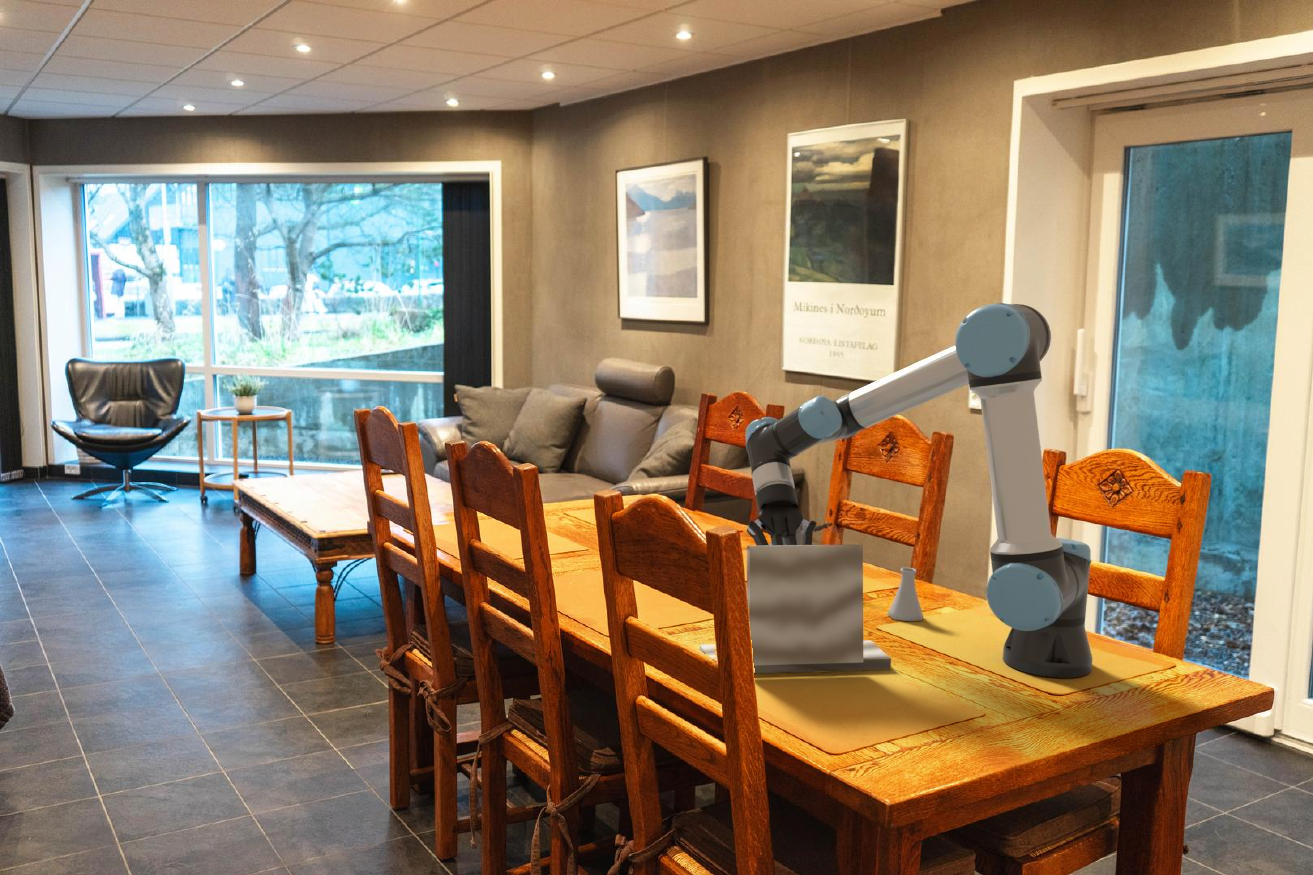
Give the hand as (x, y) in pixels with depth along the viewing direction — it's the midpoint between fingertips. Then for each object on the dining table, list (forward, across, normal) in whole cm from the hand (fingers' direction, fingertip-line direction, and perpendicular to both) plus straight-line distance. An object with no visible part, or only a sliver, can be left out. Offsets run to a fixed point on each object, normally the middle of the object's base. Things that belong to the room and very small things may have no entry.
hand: (796, 605), depth 192 cm
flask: (-11, -31, -27) cm, 43 cm away
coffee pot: (-32, -18, -49) cm, 61 cm away
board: (+7, -1, -9) cm, 11 cm away
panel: (+2, -1, +4) cm, 4 cm away
